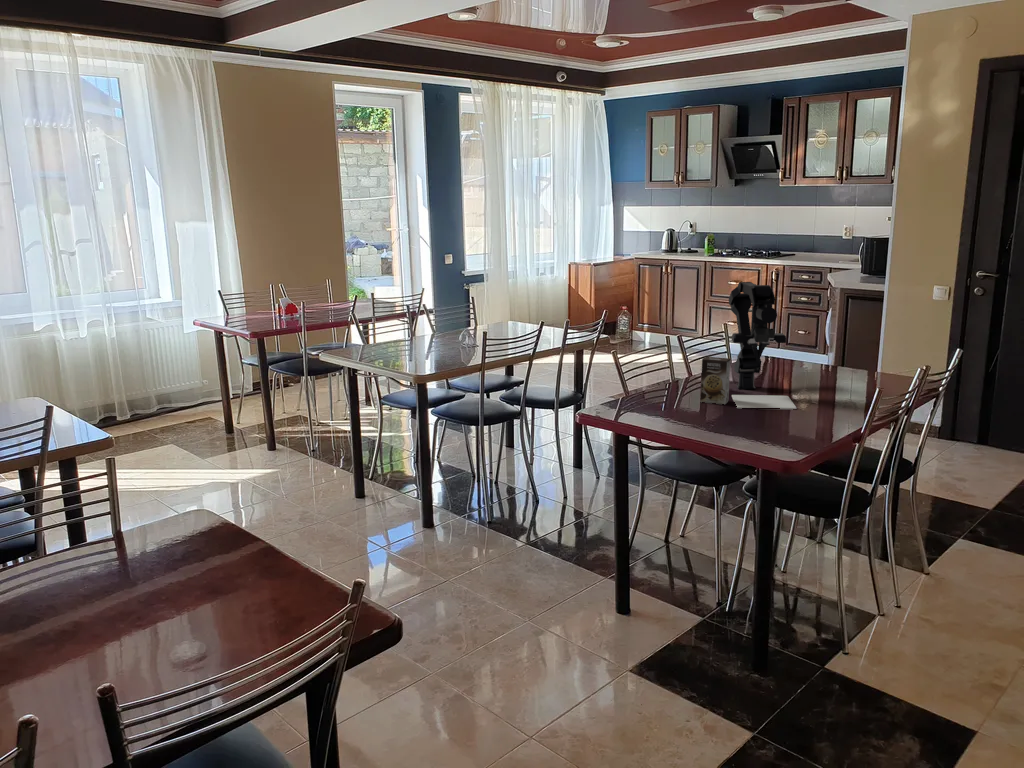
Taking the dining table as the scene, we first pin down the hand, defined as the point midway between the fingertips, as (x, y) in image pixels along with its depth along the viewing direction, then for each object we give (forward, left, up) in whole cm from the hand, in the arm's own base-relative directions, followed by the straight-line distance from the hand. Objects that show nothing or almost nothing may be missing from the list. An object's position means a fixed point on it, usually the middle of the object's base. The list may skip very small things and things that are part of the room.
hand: (757, 361), depth 293 cm
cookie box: (+12, -16, -13) cm, 24 cm away
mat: (+12, +1, -13) cm, 18 cm away
